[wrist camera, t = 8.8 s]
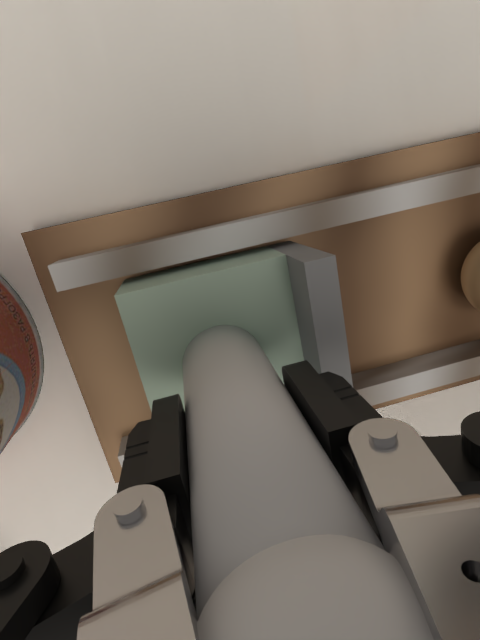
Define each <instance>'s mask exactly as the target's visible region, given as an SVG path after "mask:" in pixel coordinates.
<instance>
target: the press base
mask: <svg viewBox="0 0 480 640" xmlns="http://www.w3.org/2000/svg"><path fill="white" fill-rule="evenodd" d="M21 235H22V237H23V240H24V243H25V245H26V248H27V251H28V253H29V256H30V258H31V261H32V264H33V266H34V269H35V272H36V274H37V277H38V280H39V282H40V285H41V288H42V290H43V293H44V295H45V298H46V301H47V303H48V306H49V309H50V311H51V314H52V317H53V319H54V322H55V325H56V327H57V330H58V332H59V335H60V338H61V340H62V343H63V346H64V348H65V351H66V354H67V356H68V359H69V362H70V364H71V367H72V369H73V372H74V375H75V377H76V380H77V383H78V385H79V388H80V391H81V393H82V396H83V398H84V401H85V404H86V406H87V409H88V412H89V414H90V417H91V420H92V422H93V425H94V428H95V430H96V433H97V435H98V438H99V441H100V443H101V446H102V449H103V451H104V454H105V457H106V459H107V462H108V465H109V467H110V470H111V472H112V475H113V478H114V480H115V483H117V482H119V480H120V475H121V470H122V465H123V460H124V454H125V450H126V444H127V439H128V435H129V433H130V432H131V431H132V429H133V428H134V427H135V426H136V424H137V423H138V422H141V421H145V420H149V419H151V414H152V412H151V409H150V406H149V403H148V400H147V397H146V393H145V390H144V387H143V384H142V381H141V378H140V375H139V372H138V369H137V365H136V362H135V359H134V356H133V353H132V350H131V347H130V344H129V341H128V337H127V334H126V331H125V328H124V325H123V322H122V319H121V316H120V313H119V309H118V306H117V303H116V300H115V297H114V295H115V294H116V292H117V291H118V289H119V288H120V286H121V284H122V283H123V281H124V280H125V279H129V278H133V277H137V276H142V275H146V274H150V273H154V272H159V271H163V270H167V269H171V268H175V267H180V266H184V265H188V264H192V263H197V262H201V261H205V260H209V259H213V258H218V257H222V256H226V255H230V254H235V253H239V252H243V251H247V250H251V249H256V248H260V247H264V246H268V245H273V244H277V243H281V242H285V241H292V242H295V243H298V244H302V245H305V246H308V247H311V248H314V249H318V250H321V251H324V252H327V253H330V254H333V255H335V256H336V263H337V271H338V278H339V286H340V293H341V301H342V308H343V316H344V323H345V330H346V338H347V345H348V353H349V360H350V368H351V375H352V383H353V388H354V389H355V390H356V391H357V392H358V393H359V395H361V396H362V397H363V398H364V399H365V400H366V401H367V402H368V403H369V404H370V405H371V406H372V407H373V408H374V409H378V408H381V407H385V406H388V405H392V404H395V403H399V402H402V401H406V400H409V399H413V398H416V397H420V396H424V395H427V394H431V393H434V392H438V391H441V390H445V389H448V388H452V387H455V386H459V385H462V384H466V383H469V382H473V381H476V380H480V132H478V133H474V134H469V135H465V136H460V137H455V138H451V139H446V140H442V141H437V142H433V143H428V144H424V145H419V146H415V147H410V148H406V149H401V150H396V151H392V152H387V153H383V154H378V155H374V156H369V157H365V158H360V159H356V160H351V161H347V162H342V163H337V164H333V165H328V166H324V167H319V168H315V169H310V170H306V171H301V172H297V173H292V174H288V175H283V176H278V177H274V178H269V179H265V180H260V181H256V182H251V183H247V184H242V185H238V186H233V187H229V188H224V189H219V190H215V191H210V192H206V193H201V194H197V195H192V196H188V197H183V198H179V199H174V200H170V201H165V202H160V203H156V204H151V205H147V206H142V207H138V208H133V209H129V210H124V211H120V212H115V213H111V214H106V215H101V216H97V217H92V218H88V219H83V220H79V221H74V222H70V223H65V224H61V225H56V226H52V227H47V228H42V229H38V230H33V231H29V232H24V233H21Z"/></svg>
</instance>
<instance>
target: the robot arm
mask: <svg viewBox="0 0 480 640" xmlns="http://www.w3.org/2000/svg"><path fill="white" fill-rule="evenodd" d="M282 376H283V381H284V385H285V387H286V389H287V390H288V392H289V393H290V395H291V397H292V398H293V400H294V402H295V403H296V405H297V407H298V408H299V410H300V411H301V413H302V415H303V416H304V418H305V420H306V421H307V423H308V424H309V426H310V428H311V429H312V431H313V433H314V434H315V436H316V437H317V439H318V441H319V442H320V444H321V446H322V447H323V449H324V450H325V452H326V454H327V455H328V457H329V459H330V460H331V462H332V464H333V465H334V467H335V468H336V470H337V472H338V473H339V475H340V477H341V478H342V480H343V481H344V483H345V485H346V486H347V488H348V490H349V491H350V493H351V494H352V496H353V498H354V499H355V501H356V503H357V504H358V506H359V507H360V509H361V511H362V512H363V514H364V516H365V517H366V519H367V520H368V522H369V524H370V525H371V527H372V529H373V530H374V532H375V534H376V535H377V537H378V538H379V540H380V542H381V543H382V545H383V547H384V550H385V551H386V552H388V553H390V554H391V555H393V556H394V557H395V558H396V560H397V561H398V562H399V564H400V565H401V567H402V569H403V571H404V572H405V574H406V576H407V578H408V580H409V582H410V584H411V586H412V588H413V591H414V593H415V595H416V597H417V600H418V602H419V604H420V607H421V609H422V611H423V614H424V616H425V619H426V621H427V624H428V626H429V629H430V631H431V634H432V636H433V639H434V640H480V411H479V412H476V413H473V414H470V415H469V416H467V417H466V418H465V419H464V420H463V421H462V423H461V435H454V436H436V437H424V436H420V435H419V434H418V433H417V431H416V430H415V429H414V428H413V427H412V426H410V425H409V424H407V423H405V422H402V421H400V420H396V419H391V418H383V417H382V416H381V415H380V414H379V413H378V412H377V411H376V410H375V409H374V408H373V407H372V406H371V405H370V404H369V403H368V402H367V401H366V400H365V399H364V398H363V397H362V396H361V395H359V393H358V392H357V391H356V390H355V389H354V388H352V386H351V385H350V384H349V383H348V382H347V381H346V380H345V379H344V378H343V377H342V376H339V375H337V374H334V373H332V372H329V371H328V372H324V373H320V374H318V372H317V371H316V370H315V369H314V368H313V367H312V365H311V364H310V363H309V362H308V361H307V360H304V361H301V362H297V363H293V364H289V365H286V366H282ZM197 621H198V618H197V612H196V595H195V577H194V560H193V542H192V525H191V507H190V490H189V473H188V455H187V438H186V420H185V411H184V408H183V404H182V401H181V398H180V395H179V394H175V395H172V396H168V397H164V398H160V399H157V400H153V404H152V414H151V419H149V420H145V421H141V422H138V423H137V424H136V426H135V427H134V428H133V429H132V431H131V432H130V433H129V435H128V439H127V444H126V450H125V454H124V460H123V465H122V470H121V475H120V480H119V485H118V490H117V494H116V495H115V496H113V497H112V498H111V499H109V500H108V501H107V502H106V503H105V504H104V505H103V506H102V508H101V509H100V510H99V512H98V514H97V516H96V518H95V521H94V531H93V532H91V533H90V534H89V535H87V536H86V537H84V538H82V539H81V540H79V541H77V542H75V543H73V544H72V545H70V546H68V547H66V548H64V549H62V550H60V551H59V552H57V553H55V554H53V555H52V553H51V551H50V549H49V547H48V545H47V544H45V543H44V542H42V541H27V542H23V543H19V544H17V545H14V546H12V547H10V548H8V549H6V550H4V551H3V552H1V553H0V640H199V636H198V630H197Z"/></svg>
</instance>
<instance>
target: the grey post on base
mask: <svg viewBox="0 0 480 640" xmlns="http://www.w3.org/2000/svg"><path fill="white" fill-rule="evenodd" d="M114 297H115V300H116V303H117V306H118V309H119V313H120V316H121V319H122V322H123V325H124V328H125V331H126V334H127V337H128V341H129V344H130V347H131V350H132V353H133V356H134V359H135V362H136V365H137V369H138V372H139V375H140V378H141V381H142V384H143V387H144V390H145V393H146V397H147V400H148V403H149V406H150V409H151V412H152V404H153V400H157V399H160V398H164V397H168V396H172V395H175V394H179V395H180V398H181V401H182V404H183V408H184V411H185V420H186V438H187V455H188V473H189V490H190V507H191V525H192V542H193V560H194V577H195V595H196V612H197V618H198V621H197V630H198V636H199V640H434V639H433V636H432V634H431V631H430V629H429V626H428V624H427V621H426V619H425V616H424V614H423V611H422V609H421V607H420V604H419V602H418V600H417V597H416V595H415V593H414V591H413V588H412V586H411V584H410V582H409V580H408V578H407V576H406V574H405V572H404V571H403V569H402V567H401V565H400V564H399V562H398V561H397V560H396V558H395V557H394V556H393V555H391V554H390V553H388V552H386V551H385V550H384V547H383V545H382V543H381V542H380V540H379V538H378V537H377V535H376V534H375V532H374V530H373V529H372V527H371V525H370V524H369V522H368V520H367V519H366V517H365V516H364V514H363V512H362V511H361V509H360V507H359V506H358V504H357V503H356V501H355V499H354V498H353V496H352V494H351V493H350V491H349V490H348V488H347V486H346V485H345V483H344V481H343V480H342V478H341V477H340V475H339V473H338V472H337V470H336V468H335V467H334V465H333V464H332V462H331V460H330V459H329V457H328V455H327V454H326V452H325V450H324V449H323V447H322V446H321V444H320V442H319V441H318V439H317V437H316V436H315V434H314V433H313V431H312V429H311V428H310V426H309V424H308V423H307V421H306V420H305V418H304V416H303V415H302V413H301V411H300V410H299V408H298V407H297V405H296V403H295V402H294V400H293V398H292V397H291V395H290V393H289V392H288V390H287V389H286V387H285V385H284V381H283V376H282V366H286V365H289V364H293V363H297V362H301V361H304V360H307V361H308V362H309V363H310V364H311V365H312V367H313V368H314V369H315V370H316V371H317V372H318V374H320V373H324V372H328V371H329V372H332V373H334V374H337V375H339V376H342V377H343V378H344V379H345V380H346V381H347V382H348V383H349V384H350V385H351V386H352V388H353V383H352V375H351V368H350V360H349V353H348V345H347V338H346V330H345V323H344V316H343V308H342V301H341V293H340V286H339V278H338V271H337V263H336V256H335V255H333V254H330V253H327V252H324V251H321V250H318V249H314V248H311V247H308V246H305V245H302V244H298V243H295V242H292V241H285V242H281V243H277V244H273V245H268V246H264V247H260V248H256V249H251V250H247V251H243V252H239V253H235V254H230V255H226V256H222V257H218V258H213V259H209V260H205V261H201V262H197V263H192V264H188V265H184V266H180V267H175V268H171V269H167V270H163V271H159V272H154V273H150V274H146V275H142V276H137V277H133V278H129V279H125V280H124V281H123V283H122V284H121V286H120V288H119V289H118V291H117V292H116V294H115V295H114Z"/></svg>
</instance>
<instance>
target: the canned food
mask: <svg viewBox="0 0 480 640" xmlns="http://www.w3.org/2000/svg"><path fill="white" fill-rule="evenodd" d="M43 372H44V359H43V350H42V345H41V341H40V337H39V334H38V331H37V328H36V325H35V323H34V321H33V319H32V317H31V314H30V313H29V311H28V309H27V308H26V306H25V304H24V303H23V301H22V300H21V299H20V297H19V296H18V294H17V293H16V292H15V291H14V289H13V288H12V287H11V286H10V285H9V284H8V283H7V282H6V281H5V280H4V279H3V278H2V277H1V276H0V454H1V452H2V451H3V450H4V448H5V447H6V445H7V444H8V442H9V441H10V439H11V438H12V437H13V435H14V434H15V433H16V432H17V431H18V430H19V429H20V428H21V427H22V425H23V424H24V423H25V421H26V420H27V418H28V417H29V415H30V414H31V412H32V410H33V408H34V406H35V404H36V402H37V399H38V396H39V394H40V390H41V386H42V381H43Z"/></svg>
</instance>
